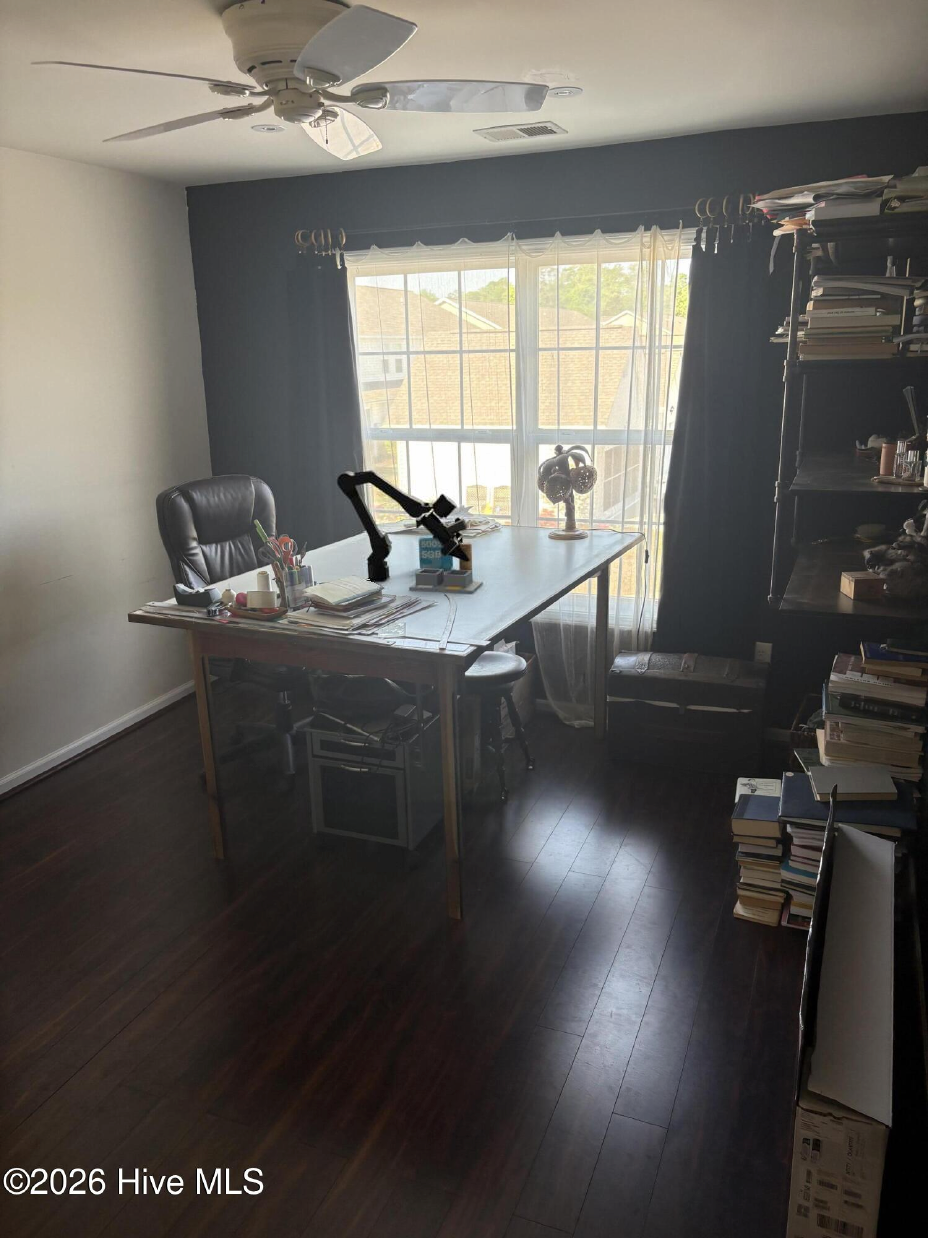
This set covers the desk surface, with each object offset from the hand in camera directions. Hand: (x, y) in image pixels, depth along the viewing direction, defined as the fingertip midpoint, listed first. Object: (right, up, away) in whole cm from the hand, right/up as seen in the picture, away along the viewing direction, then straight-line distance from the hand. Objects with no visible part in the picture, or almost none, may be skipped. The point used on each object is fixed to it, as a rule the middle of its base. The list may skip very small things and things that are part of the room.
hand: (469, 559), depth 308 cm
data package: (-12, -3, +17) cm, 21 cm away
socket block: (-8, -10, -9) cm, 16 cm away
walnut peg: (-1, -6, +2) cm, 7 cm away
